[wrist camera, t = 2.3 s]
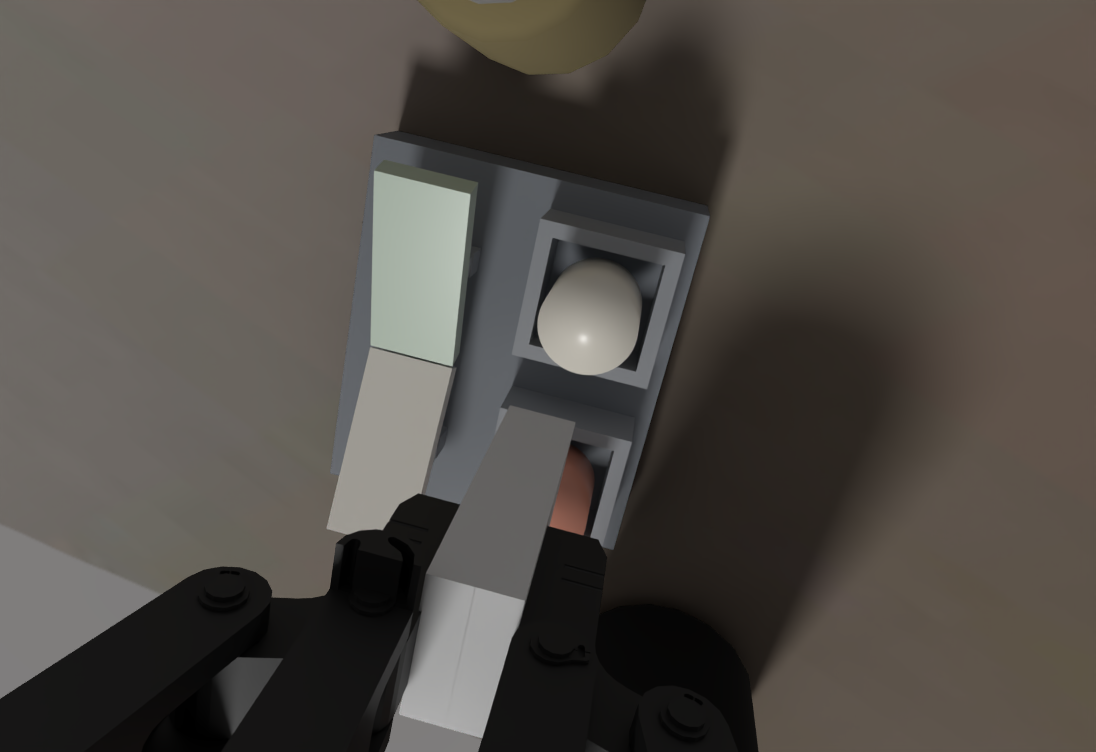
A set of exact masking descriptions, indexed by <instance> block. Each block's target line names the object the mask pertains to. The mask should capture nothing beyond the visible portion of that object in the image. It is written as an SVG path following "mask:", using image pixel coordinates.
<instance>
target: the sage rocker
mask: <svg viewBox="0 0 1096 752" xmlns="http://www.w3.org/2000/svg"><path fill="white" fill-rule="evenodd" d="M477 189H478V182H474V181H470V180H466V179H462V178H458V177H454V176H450V175H446V174H441V173H437V172H433V171H429V170H425V169H421V168H417V167H413V166H409V165H405V164H401V163H396V162H392V161H388V160H383V161H382V162H381V163H380V165H379V166H378V167H377V168H376V169H375V170H374V195H373V245H372V295H371V344H370V345H371V346H375V347H379V348H383V349H387V350H391V351H395V352H398V353H402V354H406V355H410V356H414V357H418V358H421V359H425V360H429V361H433V362H437V363H441V364H445V365H448V366H452V367H453V365H454V363H455V361H456V359H457V357H458V355H459V352H460V343H461V334H462V325H463V316H464V307H465V298H466V289H467V279H468V276H469V273H470V268H471V258H470V252H471V243H472V234H473V225H474V216H475V207H476V198H477Z"/></svg>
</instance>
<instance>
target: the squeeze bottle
mask: <svg viewBox="0 0 1096 752" xmlns="http://www.w3.org/2000/svg"><path fill="white" fill-rule="evenodd" d="M418 1H419V2H420V3H421V4H422V5H423V6H424V7H425V9H426V10H427V11H428V12H429V13H430V14H431V15H432V16H433V17H434V18H435V19H436V20H437V21H438V22H439V23H440V24H441V25H442V26H444V27H445V28H447V29H448V30H449V31H451V32H452V33H454V34H455V35H456V36H458V37H459V38H461V39H462V40H463V41H465V42H466V43H468V44H469V45H471V46H472V47H473V48H475V49H476V50H478V51H479V52H480V53H482V54H483V55H485V56H486V57H488V58H489V59H491V60H493V61H496V62H498V63H501V64H503V65H506V66H508V67H510V68H513V69H515V70H518V71H520V72H522V73H525V74H527V75H532V74H566V73H571V72H573V71H575V70H577V69H579V68H581V67H583V66H585V65H587V64H590V63H592V62H594V61H596V60H598V59H600V58H602V57H604V56H606V55H608V54H609V53H610V52H611V50H612V49H613V48H614V47H615V46H616V45H617V44H618V43H619V42H620V40H621V39H622V38H623V37H624V36H625V35H626V34H627V33H628V32H629V30H630V29H631V28H632V27H633V26H634V25H635V24H636V23H637V22H638V20H639V17H640V14H641V12H642V9H643V7H644V4H645V2H646V0H418Z"/></svg>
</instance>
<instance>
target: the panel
mask: <svg viewBox="0 0 1096 752" xmlns="http://www.w3.org/2000/svg"><path fill="white" fill-rule="evenodd" d="M383 160H388V161H392V162H396V163H401V164H405V165H409V166H413V167H417V168H421V169H425V170H429V171H433V172H437V173H441V174H446V175H450V176H454V177H458V178H462V179H466V180H470V181H474V182H478V189H477V198H476V207H475V216H474V225H473V234H472V243H471V252H470V258H471V268H470V273H469V276H468V279H467V289H466V298H465V307H464V316H463V325H462V334H461V343H460V352H459V355H458V357H457V359H456V361H455V363H454V365H453V367H456V372H455V376H454V380H453V384H452V388H451V392H450V397H449V401H448V405H447V409H446V413H445V417H444V421H443V425H442V429H441V433H440V437H439V441H438V445H437V453H436V457H435V460H434V462H433V465H432V469H431V473H430V477H429V481H428V485H427V489H426V493H425V495H427V496H431V497H434V498H438V499H442V500H445V501H449V502H453V503H457V504H461V502H462V500H463V498H464V496H465V494H466V492H467V490H468V488H469V486H470V484H471V482H472V480H473V478H474V476H475V474H476V472H477V470H478V468H479V466H480V464H481V462H482V460H483V458H484V456H485V454H486V452H487V450H488V448H489V446H490V444H491V442H492V440H493V438H494V436H495V434H496V432H497V430H498V428H499V426H500V424H501V422H502V420H503V418H504V416H505V414H506V412H507V410H508V408H509V406H510V405H511V406H515V407H519V408H523V409H527V410H530V411H534V412H538V413H542V414H546V415H550V416H554V417H557V418H561V419H565V420H569V421H573V422H576V423H575V427H574V431H573V435H572V439H571V443H570V444H571V445H573V446H575V447H576V448H578V449H579V450H580V451H581V452H582V453H583V454H584V455H585V456H586V457H587V458H588V460H589V461H590V463H591V465H592V468H593V471H594V477H595V484H594V489H593V494H592V499H591V504H590V509H589V514H588V519H587V524H586V529H585V532H584V535H583V536H587V537H591V538H595V539H598V540H599V542H600V544H601V546H602V547H604V548H608V549H611V550H613V549H614V546H615V542H616V539H617V535H618V532H619V528H620V525H621V522H622V518H623V515H624V511H625V508H626V504H627V501H628V497H629V494H630V491H631V487H632V484H633V480H634V477H635V473H636V470H637V466H638V463H639V460H640V456H641V453H642V449H643V446H644V442H645V439H646V435H647V432H648V429H649V425H650V422H651V418H652V415H653V411H654V408H655V404H656V401H657V397H658V394H659V391H660V387H661V384H662V380H663V377H664V373H665V370H666V366H667V363H668V360H669V356H670V353H671V349H672V346H673V342H674V339H675V335H676V332H677V329H678V325H679V322H680V318H681V315H682V311H683V308H684V304H685V301H686V298H687V294H688V291H689V287H690V284H691V280H692V277H693V273H694V270H695V267H696V263H697V260H698V256H699V253H700V249H701V246H702V242H703V239H704V235H705V232H706V229H707V225H708V222H709V218H710V214H709V210H708V206H707V205H703V204H698V203H694V202H690V201H686V200H682V199H678V198H674V197H670V196H665V195H661V194H657V193H653V192H649V191H645V190H641V189H636V188H632V187H628V186H624V185H620V184H616V183H612V182H608V181H603V180H599V179H595V178H591V177H587V176H583V175H579V174H574V173H570V172H566V171H562V170H558V169H554V168H550V167H545V166H541V165H537V164H533V163H529V162H525V161H521V160H517V159H512V158H508V157H504V156H500V155H496V154H492V153H488V152H483V151H479V150H475V149H471V148H467V147H463V146H459V145H454V144H450V143H446V142H442V141H438V140H434V139H430V138H426V137H421V136H417V135H413V134H409V133H405V132H401V131H394V132H388V133H383V134H377V135H374V142H373V149H372V157H371V165H370V172H369V180H368V188H367V195H366V203H365V211H364V218H363V226H362V234H361V241H360V249H359V257H358V264H357V272H356V280H355V287H354V295H353V303H352V310H351V318H350V326H349V333H348V341H347V348H346V356H345V364H344V371H343V379H342V387H341V394H340V402H339V410H338V417H337V425H336V433H335V440H334V448H333V456H332V463H331V471H330V473H331V474H335V475H338V476H339V475H340V471H341V466H342V462H343V458H344V454H345V450H346V446H347V442H348V437H349V433H350V429H351V425H352V421H353V417H354V412H355V408H356V404H357V400H358V396H359V392H360V388H361V383H362V379H363V375H364V371H365V367H366V363H367V358H368V354H369V350H370V347H375V346H371V345H370V344H371V295H372V245H373V195H374V170H375V169H376V168H377V167H378V166H379V165H380V163H381V162H382V161H383ZM588 258H604V259H608V260H612V261H614V262H616V263H618V264H620V265H622V266H623V267H624V268H626V269H627V270H628V271H629V272H630V273H631V274H632V275H633V277H634V278H635V280H636V281H637V283H638V285H639V288H640V291H641V295H642V311H641V318H640V324H639V331H638V337H637V341H636V344H635V346H634V348H633V350H632V352H631V354H630V355H629V356H628V358H627V359H626V360H625V361H624V362H623V363H622V364H620V365H619V366H618V367H616V368H614V369H613V370H610V371H608V372H605V373H602V374H597V375H582V374H576V373H573V372H570V371H568V370H566V369H564V368H562V367H561V366H559V365H558V364H556V363H555V362H554V361H553V360H552V359H551V358H550V357H549V356H548V354H547V353H546V352H545V350H544V348H543V346H542V344H541V342H540V339H539V335H538V328H537V326H538V315H539V312H540V308H541V306H542V304H543V302H544V300H545V299H546V297H547V295H548V294H549V292H550V290H551V289H552V287H553V285H554V284H555V282H556V281H557V279H558V277H559V276H560V275H561V273H562V272H563V271H564V270H565V269H566V268H568V267H569V266H570V265H572V264H574V263H576V262H578V261H580V260H583V259H588ZM390 351H391V350H390ZM394 352H395V351H394ZM413 357H414V356H413ZM417 358H418V357H417ZM440 364H441V363H440ZM444 365H445V364H444Z"/></svg>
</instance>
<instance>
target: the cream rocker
mask: <svg viewBox="0 0 1096 752" xmlns="http://www.w3.org/2000/svg"><path fill="white" fill-rule="evenodd" d="M455 372H456V367H452V366H448V365H444V364H440V363H437V362H433V361H429V360H425V359H421V358H417V357H413V356H410V355H406V354H402V353H398V352H394V351H390V350H387V349H383V348H379V347H370V350H369V354H368V358H367V363H366V367H365V371H364V375H363V379H362V383H361V388H360V392H359V396H358V400H357V404H356V408H355V412H354V417H353V421H352V425H351V429H350V433H349V437H348V442H347V446H346V450H345V454H344V458H343V462H342V466H341V471H340V475H339V479H338V483H337V487H336V491H335V496H334V500H333V504H332V508H331V512H330V516H329V521H328V525H327V529H329V530H333V531H337V532H340V533H344V534H347V535H348V534H351V533H354V532H357V531H360V530H373V529H378V530H383V529H384V527H385V526H386V524H387V523H388V522H389V520H390V518H391V516H392V515H393V513H394V512H395V510H396V509H397V507H398V505H399V504H400V503H402V502H404V501H405V500H407V499H409V498H411V497H413V496H414V495H416V494H418V493H419V494H423V495H425V493H426V489H427V485H428V481H429V477H430V473H431V469H432V465H433V462H434V460H435V457H436V453H437V445H438V441H439V437H440V433H441V429H442V425H443V421H444V417H445V413H446V409H447V405H448V401H449V397H450V392H451V388H452V384H453V380H454V376H455Z"/></svg>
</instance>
